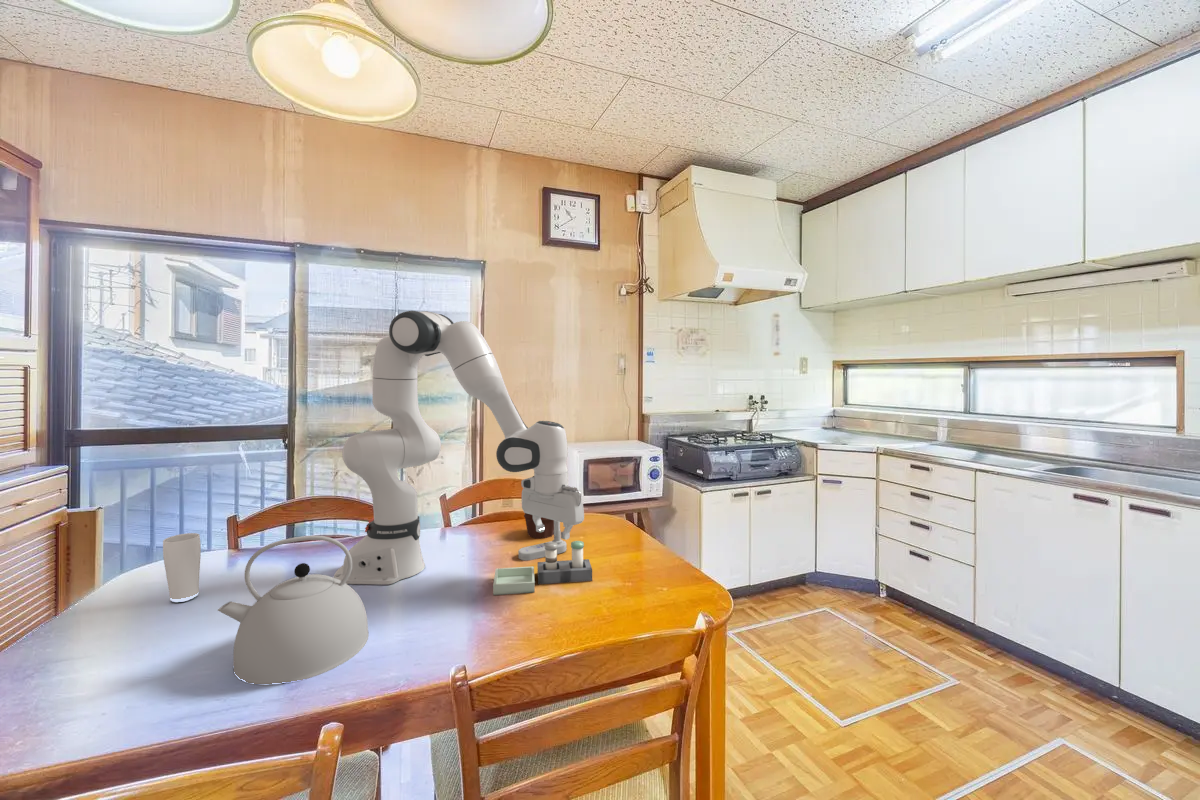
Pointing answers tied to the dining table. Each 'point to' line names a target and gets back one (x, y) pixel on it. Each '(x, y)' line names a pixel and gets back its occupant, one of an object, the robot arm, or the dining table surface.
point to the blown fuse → (551, 556)
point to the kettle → (297, 624)
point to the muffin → (532, 527)
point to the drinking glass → (182, 564)
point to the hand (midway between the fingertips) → (552, 535)
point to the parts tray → (514, 580)
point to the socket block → (564, 573)
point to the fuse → (577, 554)
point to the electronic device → (543, 546)
